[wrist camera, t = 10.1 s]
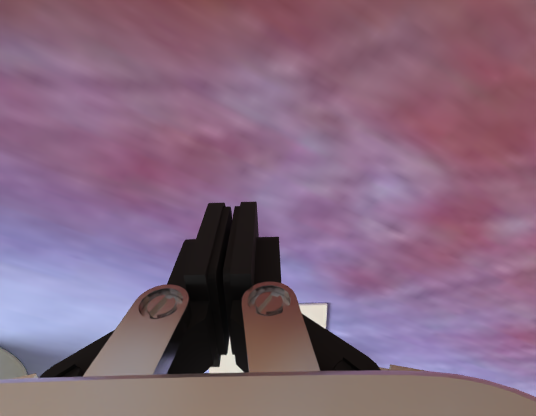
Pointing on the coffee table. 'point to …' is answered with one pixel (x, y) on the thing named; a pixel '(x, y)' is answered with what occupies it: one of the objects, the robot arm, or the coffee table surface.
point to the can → (10, 366)
